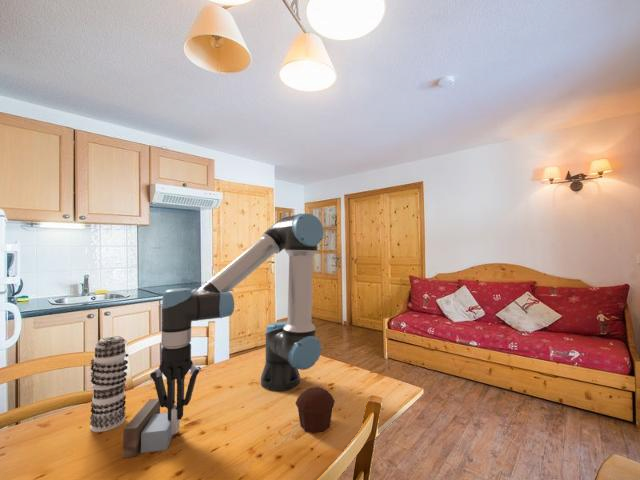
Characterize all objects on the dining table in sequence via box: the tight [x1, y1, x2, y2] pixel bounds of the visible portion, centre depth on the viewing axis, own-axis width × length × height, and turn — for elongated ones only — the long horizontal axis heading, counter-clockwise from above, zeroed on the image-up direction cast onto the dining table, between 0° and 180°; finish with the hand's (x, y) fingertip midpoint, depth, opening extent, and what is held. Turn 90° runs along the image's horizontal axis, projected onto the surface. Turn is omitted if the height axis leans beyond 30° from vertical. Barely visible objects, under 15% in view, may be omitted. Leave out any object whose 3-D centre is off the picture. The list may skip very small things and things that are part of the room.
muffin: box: [295, 386, 336, 435], centre depth 88 cm, size 12×11×10 cm
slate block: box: [140, 412, 175, 454], centre depth 80 cm, size 6×9×5 cm, turn 12°
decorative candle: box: [89, 335, 129, 433], centre depth 88 cm, size 9×9×25 cm
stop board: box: [122, 398, 161, 459], centre depth 81 cm, size 3×15×7 cm, turn 8°
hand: (175, 430), depth 82 cm, fingers closed
